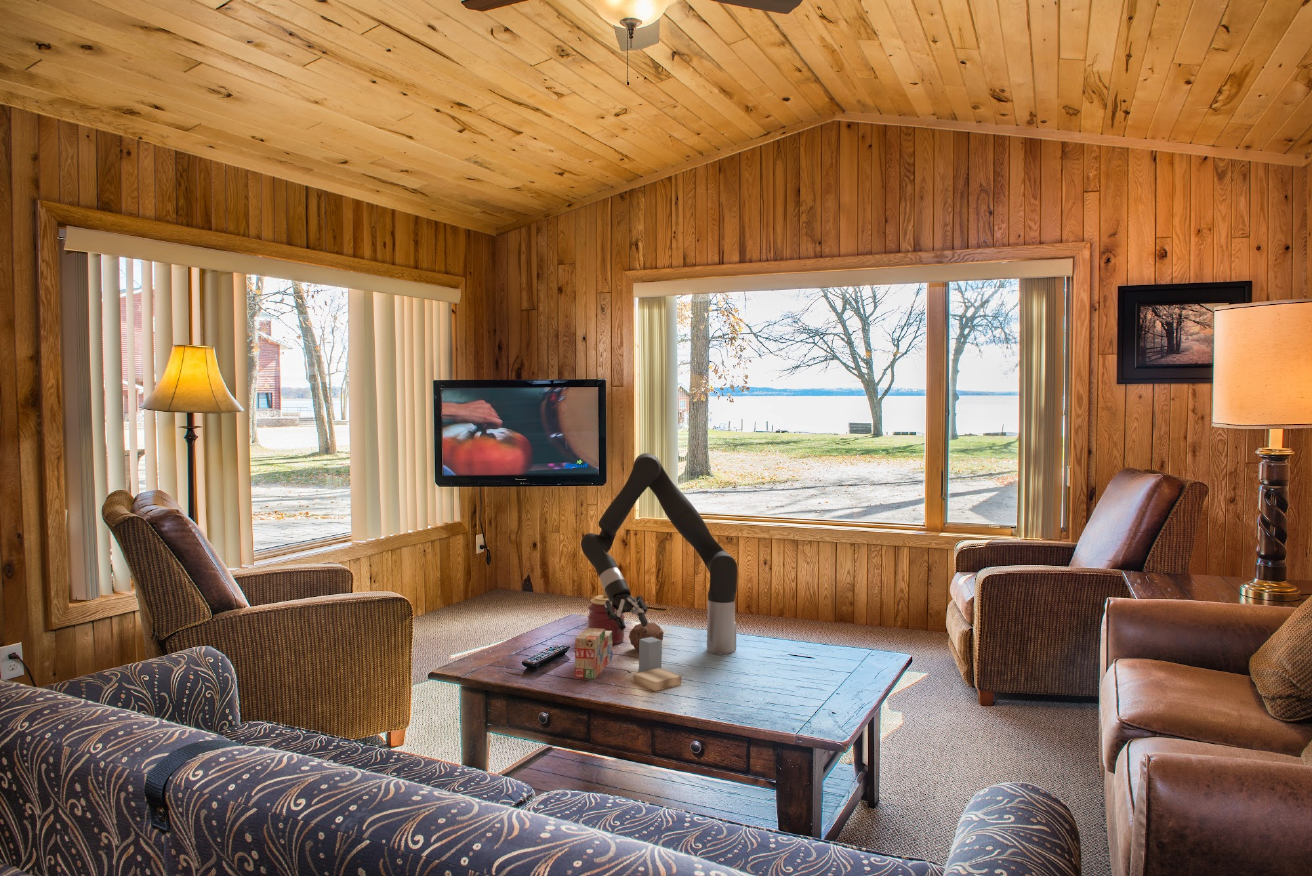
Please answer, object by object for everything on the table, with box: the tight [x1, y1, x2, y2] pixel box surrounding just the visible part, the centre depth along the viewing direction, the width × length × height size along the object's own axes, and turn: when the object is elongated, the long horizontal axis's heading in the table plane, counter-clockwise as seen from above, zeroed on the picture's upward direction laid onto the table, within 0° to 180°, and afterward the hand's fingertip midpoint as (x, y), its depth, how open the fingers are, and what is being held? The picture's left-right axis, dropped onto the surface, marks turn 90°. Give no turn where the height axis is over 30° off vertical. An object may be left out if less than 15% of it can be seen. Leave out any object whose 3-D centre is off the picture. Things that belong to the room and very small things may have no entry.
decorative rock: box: [628, 621, 664, 652], centre depth 280 cm, size 13×11×10 cm
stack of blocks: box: [574, 627, 613, 680], centre depth 260 cm, size 21×6×12 cm, turn 168°
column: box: [638, 637, 663, 673], centre depth 257 cm, size 5×5×10 cm
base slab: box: [633, 667, 682, 692], centre depth 247 cm, size 10×10×3 cm
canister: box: [587, 591, 626, 646], centre depth 292 cm, size 13×13×18 cm
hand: (634, 627), depth 264 cm, fingers open, 8 cm apart
